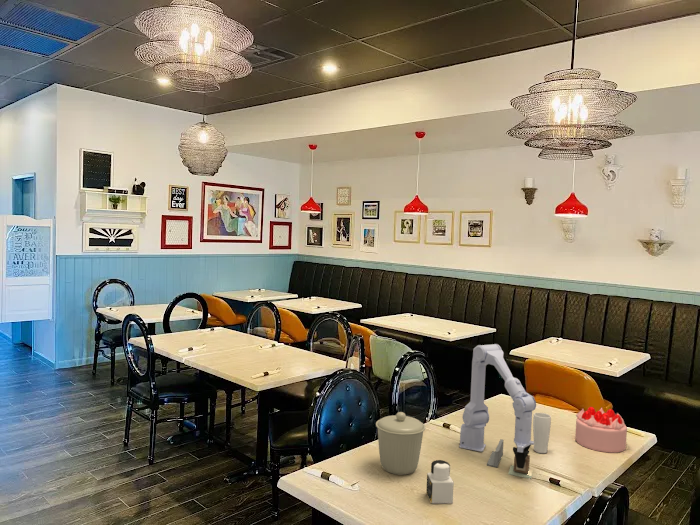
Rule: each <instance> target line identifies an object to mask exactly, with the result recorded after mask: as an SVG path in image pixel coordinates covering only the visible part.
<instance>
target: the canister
mask: <svg viewBox="0 0 700 525" xmlns="http://www.w3.org/2000/svg"><path fill="white" fill-rule="evenodd" d="M375 427H376V428H377V438H378V440H377V441H378V452H379V462H380V465H381V467H382V469H383V470H384V471H386V472H387V473H389V474H393V475H399V476H400V475H402V476H404V475H405V476H406V475H409V474H413V473H414V472H415V471H416V469H417V468H418V466H419V460H420V455H421V449H422V443H423V435H424V432H425V430H426V425H425V424H424V423H423V422H421V420H419V419H417V418H415V417H412V416H408V415H406V413H405V412H403V411H398V412H397V413H396V414H395V415H393V414H392V415H388V416H384V417H382V418H379V419H378V420H377V421H376V422H375Z"/></svg>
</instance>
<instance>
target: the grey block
mask: <svg viewBox="0 0 700 525" xmlns="http://www.w3.org/2000/svg"><path fill="white" fill-rule="evenodd" d="M504 440H505V439H501V438H500V439H499V441H498V443H497V446H496V448H495V451H494V450H493V451H492V452H491V453H490V456H489V458H488V461H487V462H486V466H488V467H493V468H496V469H497V468H499V465H500V464H501V463H500V462H501V460H502V458H503V455H504ZM501 457H502V458H501Z"/></svg>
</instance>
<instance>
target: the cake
mask: <svg viewBox="0 0 700 525" xmlns="http://www.w3.org/2000/svg"><path fill="white" fill-rule="evenodd" d="M575 416H576V420H575V433H574V434H575V436H574V437H575V438H574V439H575V441H576V443H577V444H579V445H580V446H582V447H585V448H586V449H589V450H593V451H597V452H602V453H610V454H611V453H613V454H614V453H621V452H623V451H625V450H626V447H627V437H628V436H627V433H628V427H627V426H626V424H625V421H624V419H623V418H622V416H621V415H620V414H619V412H616V413H615V411H614V410H613V409H611V408H609V409H607V410H606V412H605V411H604V409H603V407H601V408H600V409H599V410H597V411H596V409H595V408H594V407H593V406H589V407H588V408H587V409H586V410H584V408H582V409H581V410H580V411H578V412H577V413H576V414H575Z"/></svg>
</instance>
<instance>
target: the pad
mask: <svg viewBox="0 0 700 525" xmlns="http://www.w3.org/2000/svg"><path fill="white" fill-rule="evenodd" d="M507 474H508V475H510V476H515V477H520V478H525V479H529V478H530V480H531V479H532V478H533V475H532V476H529V475H527V474H526V473H521V472H516V471H514V464H513V465H510V467H509V470H508V473H507Z"/></svg>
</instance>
